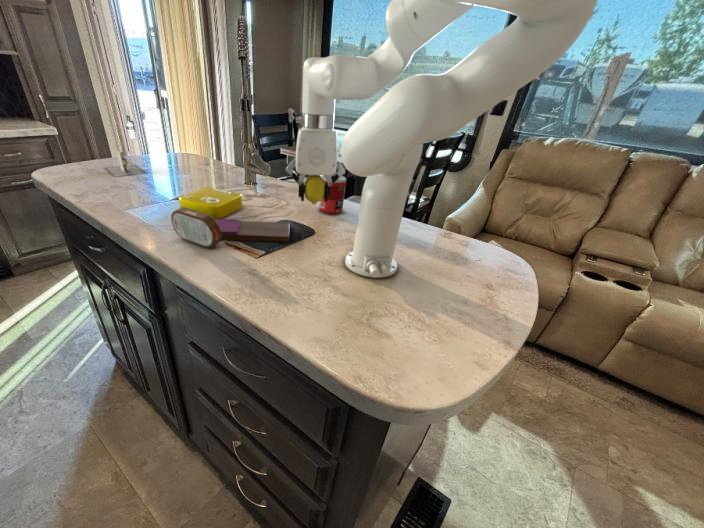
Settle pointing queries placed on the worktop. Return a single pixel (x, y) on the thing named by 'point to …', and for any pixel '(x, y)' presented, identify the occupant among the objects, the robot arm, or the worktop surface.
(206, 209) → the element tile
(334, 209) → the canned food
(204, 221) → the tin
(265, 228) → the serving board
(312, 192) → the lemon
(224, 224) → the plum cloth
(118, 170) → the architectural model
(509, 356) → the worktop surface
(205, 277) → the worktop surface
